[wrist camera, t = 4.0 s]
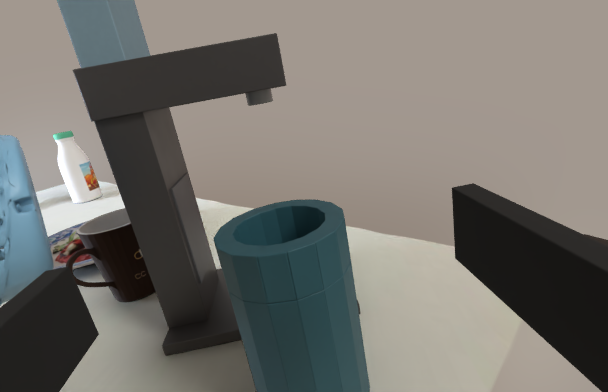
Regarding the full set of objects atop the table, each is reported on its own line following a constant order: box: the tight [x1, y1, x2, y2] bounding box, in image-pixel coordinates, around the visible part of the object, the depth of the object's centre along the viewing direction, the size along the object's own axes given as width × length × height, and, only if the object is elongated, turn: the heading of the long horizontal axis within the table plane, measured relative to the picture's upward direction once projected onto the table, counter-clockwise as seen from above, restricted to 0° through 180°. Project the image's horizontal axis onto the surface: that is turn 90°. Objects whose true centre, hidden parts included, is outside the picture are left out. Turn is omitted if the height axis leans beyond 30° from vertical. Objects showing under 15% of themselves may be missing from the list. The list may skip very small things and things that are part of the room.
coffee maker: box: [57, 0, 360, 356], centre depth 34 cm, size 13×19×33 cm
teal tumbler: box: [214, 200, 370, 392], centre depth 24 cm, size 8×8×14 cm
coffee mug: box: [66, 208, 155, 302], centre depth 44 cm, size 12×9×10 cm
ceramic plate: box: [48, 221, 94, 269], centre depth 64 cm, size 26×26×3 cm
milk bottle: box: [53, 131, 102, 203], centre depth 100 cm, size 8×8×20 cm
